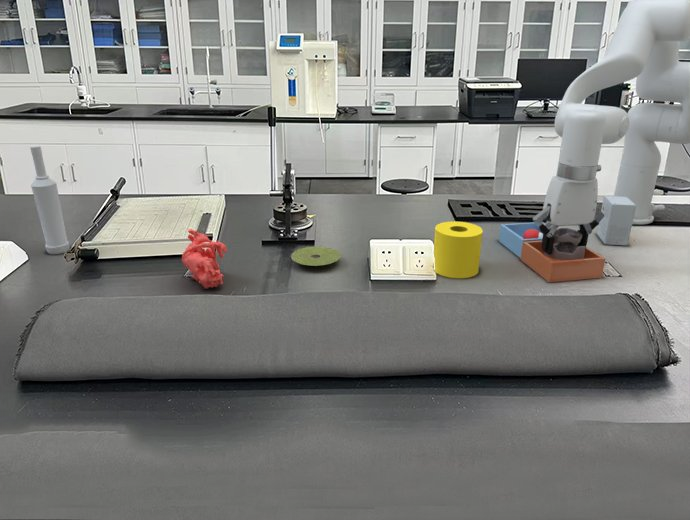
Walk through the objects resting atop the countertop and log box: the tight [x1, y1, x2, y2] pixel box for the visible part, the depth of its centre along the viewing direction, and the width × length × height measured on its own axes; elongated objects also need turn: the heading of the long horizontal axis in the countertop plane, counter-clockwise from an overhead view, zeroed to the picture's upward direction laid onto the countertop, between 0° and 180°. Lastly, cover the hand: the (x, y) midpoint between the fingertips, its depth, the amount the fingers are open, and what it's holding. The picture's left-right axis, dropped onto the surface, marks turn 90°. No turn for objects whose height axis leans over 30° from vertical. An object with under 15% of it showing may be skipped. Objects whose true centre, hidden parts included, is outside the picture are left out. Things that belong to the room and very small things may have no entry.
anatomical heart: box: [181, 228, 228, 289], centre depth 110 cm, size 9×12×12 cm
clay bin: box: [520, 241, 607, 283], centre depth 118 cm, size 12×12×4 cm
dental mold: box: [544, 227, 585, 260], centre depth 117 cm, size 8×7×5 cm
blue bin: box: [498, 221, 550, 259], centre depth 129 cm, size 11×11×4 cm
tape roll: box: [433, 220, 484, 279], centre depth 116 cm, size 10×10×9 cm
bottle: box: [29, 145, 71, 255], centre depth 123 cm, size 5×5×25 cm
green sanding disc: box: [290, 246, 341, 267], centre depth 121 cm, size 11×11×2 cm
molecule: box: [523, 229, 543, 239], centre depth 129 cm, size 5×5×4 cm
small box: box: [596, 195, 636, 246], centre depth 133 cm, size 8×6×10 cm
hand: (563, 250), depth 117 cm, fingers closed on dental mold, 7 cm apart
